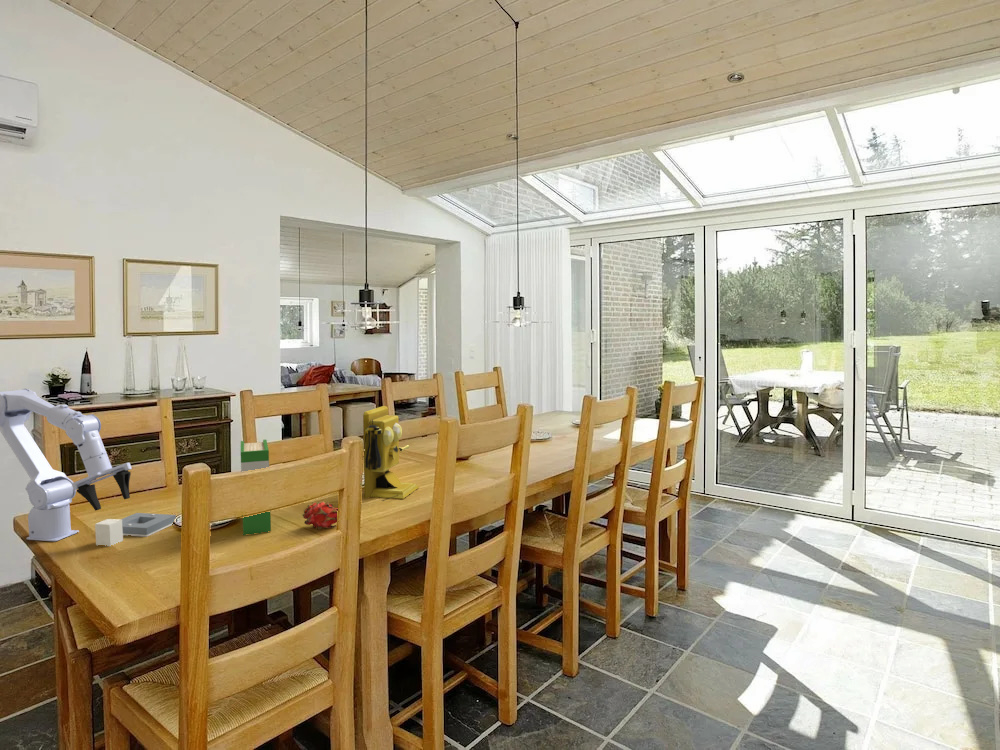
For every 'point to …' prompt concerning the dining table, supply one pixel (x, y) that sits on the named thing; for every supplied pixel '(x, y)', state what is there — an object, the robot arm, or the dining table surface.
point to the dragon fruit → (320, 515)
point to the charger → (109, 532)
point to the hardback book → (251, 460)
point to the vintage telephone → (383, 455)
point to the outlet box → (146, 523)
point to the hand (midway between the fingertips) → (112, 504)
